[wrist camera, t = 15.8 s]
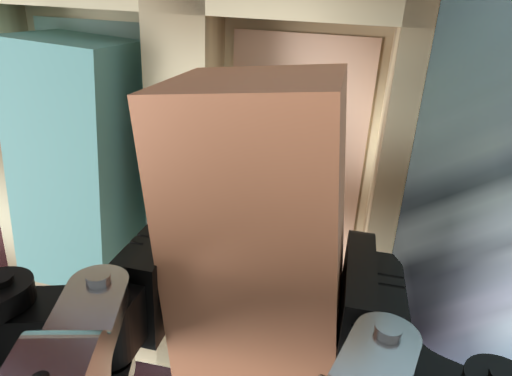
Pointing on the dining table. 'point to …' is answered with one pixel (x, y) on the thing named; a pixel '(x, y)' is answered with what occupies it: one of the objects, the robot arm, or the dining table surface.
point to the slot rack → (277, 53)
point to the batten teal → (69, 148)
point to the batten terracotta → (246, 215)
